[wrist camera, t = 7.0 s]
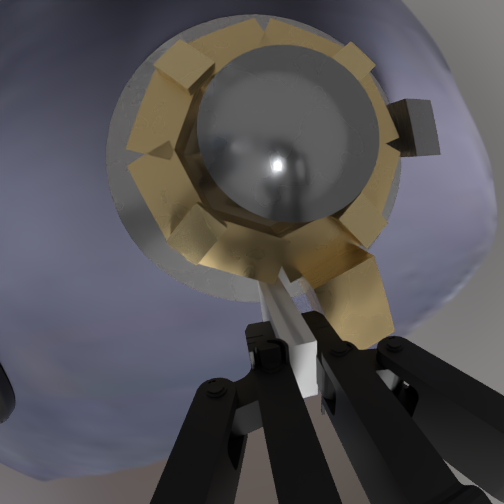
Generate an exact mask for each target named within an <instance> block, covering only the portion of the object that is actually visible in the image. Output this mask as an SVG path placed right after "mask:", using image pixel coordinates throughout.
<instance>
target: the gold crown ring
mask: <svg viewBox="0 0 504 504" xmlns="http://www.w3.org/2000/svg"><path fill="white" fill-rule="evenodd" d="M270 45H295V46H302V47H306V48H310V49H313V50H316V51H318V52H321V53H323V54H325V55H327V56H329V57H331V58H333V59H334V60H336V61H337V62H339V63H340V64H341V65H343V66H344V67H345V68H346V69H347V70H349V71H350V72H351V73H352V74H353V75H354V76H355V78H356V79H357V80H358V81H359V82H360V84H361V85H362V86H363V88H364V89H365V91H366V93H367V94H368V96H369V98H370V100H371V102H372V105H373V107H374V110H375V113H376V117H377V120H378V126H379V152H378V157H377V161H376V165H375V168H374V170H373V173H372V175H371V177H370V179H369V181H368V182H367V184H366V186H365V187H364V188H363V190H362V191H361V192H360V194H359V195H358V196H357V197H356V198H355V199H354V200H353V201H352V202H350V203H349V204H348V205H347V206H345V207H344V208H343V209H341V210H339V211H337V212H336V213H334V214H332V215H329V216H327V217H324V218H321V219H317V220H313V221H308V222H281V221H279V222H277V223H275V224H274V225H272V226H267V225H264V224H260V223H257V222H254V221H251V220H248V219H244V218H241V217H238V216H235V215H231V214H228V213H225V212H222V211H218V210H215V209H212V208H211V206H210V204H209V202H208V200H207V198H206V196H205V195H204V193H203V191H202V189H201V187H200V185H199V183H198V181H197V179H196V178H195V176H194V174H193V172H192V170H191V168H190V166H189V164H188V162H187V160H186V159H185V157H184V152H185V149H186V146H187V143H188V140H189V137H190V134H191V131H192V128H193V126H194V123H195V120H196V117H197V115H198V112H199V106H200V103H201V100H202V98H203V95H204V93H205V91H206V89H207V87H208V85H209V84H210V82H211V81H212V79H213V78H214V77H215V75H216V74H217V73H218V72H219V71H220V70H221V69H222V68H223V67H224V66H225V65H226V64H228V63H229V62H230V61H231V60H233V59H234V58H236V57H238V56H240V55H241V54H243V53H246V52H248V51H250V50H253V49H256V48H260V47H264V46H270ZM153 66H154V67H155V71H154V73H153V76H152V78H151V80H150V83H149V85H148V88H147V90H146V92H145V95H144V98H143V100H142V103H141V105H140V108H139V111H138V113H137V116H136V119H135V122H134V125H133V128H132V131H131V134H130V137H129V140H128V143H127V146H126V149H127V150H131V151H135V152H139V153H143V154H145V155H143V156H142V157H140V158H139V159H137V160H135V161H134V162H132V163H131V164H129V165H128V166H127V167H128V169H129V171H130V173H131V175H132V177H133V179H134V181H135V183H136V185H137V187H138V189H139V191H140V193H141V195H142V196H143V198H144V200H145V202H146V204H147V206H148V208H149V209H150V211H151V213H152V215H153V217H154V219H155V220H156V222H157V224H158V226H159V228H160V229H161V231H162V233H163V235H164V236H165V238H166V240H167V241H166V243H167V244H168V245H170V247H171V249H173V248H174V249H175V250H176V251H177V252H179V253H180V254H181V255H182V256H184V257H185V258H186V259H185V260H187V261H190V262H191V263H193V264H194V265H195V266H197V265H198V264H201V265H205V266H208V267H212V268H215V269H219V270H222V271H226V272H229V273H233V274H236V275H240V276H243V277H247V278H251V279H254V280H258V281H262V282H265V283H269V284H273V285H275V282H276V280H277V277H278V274H279V272H280V269H282V270H283V272H284V273H285V275H286V277H287V278H288V280H289V281H290V283H292V282H294V281H295V280H297V279H299V282H300V284H301V286H302V288H303V290H304V292H305V294H306V296H307V299H308V301H309V303H310V305H311V307H312V309H313V311H317V312H319V313H321V314H323V315H324V316H325V318H326V319H327V321H328V322H329V323H330V324H331V326H332V327H333V328H334V330H335V331H336V333H337V334H338V335H339V337H340V338H341V339H342V341H348V342H351V343H353V344H354V345H355V346H356V347H357V348H358V349H359V350H365V349H367V348H368V347H370V346H372V345H373V344H375V343H377V342H378V341H380V340H382V339H383V338H385V337H386V336H388V335H390V334H391V333H393V332H394V331H395V330H394V325H393V321H392V317H391V313H390V309H389V305H388V302H387V298H386V294H385V291H384V287H383V284H382V280H381V277H380V274H379V270H378V267H377V264H376V261H375V257H374V255H372V254H370V253H368V252H367V251H365V250H363V249H361V248H360V247H358V246H360V245H361V246H363V247H364V248H366V249H367V248H368V247H369V246H370V244H371V243H372V242H373V241H374V239H375V238H376V237H377V236H378V235H379V233H380V232H381V231H382V230H383V228H384V227H385V226H386V225H387V223H388V222H387V221H386V220H385V218H384V217H383V216H382V215H381V214H382V212H383V209H384V206H385V203H386V200H387V196H388V193H389V190H390V187H391V184H392V180H393V177H394V174H395V170H396V167H397V163H398V160H399V156H400V152H399V151H398V150H396V149H394V148H392V147H391V146H389V145H387V144H385V143H388V142H390V141H392V140H395V139H397V138H399V135H398V133H397V130H396V128H395V126H394V123H393V121H392V119H391V116H390V114H389V112H388V110H387V107H386V105H385V103H384V101H383V99H382V97H381V95H380V93H379V91H378V89H377V87H376V85H375V83H374V81H373V79H372V77H371V75H370V73H369V72H370V71H371V70H372V69H373V68H374V67H375V66H376V65H375V64H374V63H373V62H372V61H371V60H370V59H369V58H368V57H367V56H366V55H365V54H364V53H363V52H362V51H361V50H360V49H359V48H358V47H357V46H356V45H355V44H353V43H352V42H351V41H350V42H349V43H348V44H347V45H346V46H345V47H342V46H340V45H338V44H336V43H334V42H332V41H330V40H327V39H325V38H323V37H320V36H318V35H316V34H313V33H311V32H308V31H306V30H303V29H301V28H298V27H295V26H293V25H290V24H287V23H284V22H281V21H278V20H275V19H272V18H270V20H269V23H268V25H267V27H266V29H265V32H264V31H263V30H262V28H261V27H260V25H259V24H258V22H257V21H256V19H255V18H252V19H249V20H246V21H243V22H240V23H237V24H234V25H231V26H228V27H226V28H223V29H220V30H217V31H215V32H212V33H210V34H207V35H205V36H202V37H200V38H198V39H195V40H193V41H191V42H189V43H186V42H184V41H183V40H181V39H179V40H178V41H177V42H176V43H175V44H174V45H173V46H172V47H170V48H169V49H168V50H167V51H166V52H165V53H164V54H163V55H162V56H161V57H160V58H159V59H158V60H157V61H156V62H155V63H154V64H153Z"/></svg>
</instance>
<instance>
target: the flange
mask: <svg viewBox="0 0 504 504" xmlns="http://www.w3.org/2000/svg"><path fill="white" fill-rule="evenodd" d="M252 18H255V19H256V21H257V22H258V24H259V25H260V27H261V28H262V30H263V31H264V32H265V29H266V27H267V25H268V23H269V20H270V18H272V19H275V20H278V21H281V22H284V23H287V24H290V25H293V26H295V27H298V28H301V29H303V30H306V31H308V32H311V33H313V34H316V35H318V36H320V37H323V38H325V39H327V40H330V41H332V42H334V43H336V44H338V45H340V46H342V47H345V46H344V45H343V44H342V43H340V42H339V41H337V40H336V39H334V38H333V37H331V36H330V35H328V34H326V33H324V32H322V31H320V30H318V29H316V28H314V27H312V26H309V25H306V24H304V23H301V22H298V21H295V20H291V19H287V18H282V17H277V16H270V15H257V14H251V15H234V16H228V17H223V18H217V19H214V20H210V21H207V22H204V23H201V24H198V25H196V26H193V27H191V28H189V29H187V30H185V31H183V32H181V33H179V34H177V35H176V36H174V37H173V38H171V39H170V40H168V41H166V42H165V43H163V44H162V45H161V46H160V47H159V48H157V49H156V50H155V51H154V52H153V53H152V54H151V55H149V56H148V57H147V58H146V60H145V61H144V62H143V63H142V64H141V65H140V66H139V67H138V69H137V70H136V71H135V72H134V74H133V75H132V77H131V78H130V80H129V81H128V83H127V84H126V86H125V87H124V89H123V91H122V93H121V95H120V97H119V100H118V102H117V104H116V106H115V109H114V112H113V115H112V119H111V122H110V126H109V131H108V138H107V144H106V168H107V176H108V184H109V188H110V191H111V195H112V199H113V202H114V205H115V207H116V210H117V212H118V214H119V217H120V219H121V221H122V223H123V225H124V226H125V228H126V230H127V231H128V233H129V235H130V236H131V238H132V239H133V241H134V242H135V243H136V244H137V246H138V247H139V248H140V249H141V250H142V252H143V253H144V254H145V255H146V256H147V257H148V258H149V259H150V260H151V261H152V262H153V263H154V264H155V265H157V266H158V267H159V268H160V269H161V270H163V271H164V272H165V273H167V274H168V275H170V276H171V277H173V278H174V279H175V280H177V281H179V282H181V283H183V284H185V285H187V286H188V287H190V288H192V289H195V290H197V291H200V292H203V293H205V294H208V295H211V296H215V297H219V298H223V299H228V300H233V301H244V302H260V295H259V288H258V281H257V280H254V279H251V278H247V277H243V276H240V275H236V274H233V273H229V272H226V271H222V270H219V269H215V268H212V267H208V266H205V265H201V264H198V265H197V266H195V265H194V264H193V263H191V262H190V261H187V260H185V259H186V258H185V257H184V256H182V255H181V254H180V253H179V252H177V251H176V250H175V249H174V248H173V249H171V247H170V245H168V244H167V243H166V241H167V240H166V238H165V236H164V235H163V233H162V231H161V229H160V228H159V226H158V224H157V222H156V220H155V219H154V217H153V215H152V213H151V211H150V209H149V208H148V206H147V204H146V202H145V200H144V198H143V196H142V195H141V193H140V191H139V189H138V187H137V185H136V183H135V181H134V179H133V177H132V175H131V173H130V171H129V169H128V167H127V166H128V165H129V164H131V163H132V162H134V161H135V160H137V159H139V158H140V157H142V156H143V155H145V154H143V153H139V152H135V151H131V150H127V149H126V146H127V143H128V140H129V137H130V134H131V131H132V128H133V125H134V122H135V119H136V116H137V113H138V111H139V108H140V105H141V103H142V100H143V98H144V95H145V92H146V90H147V88H148V85H149V83H150V80H151V78H152V76H153V73H154V71H155V67H154V66H153V64H154V63H155V62H156V61H157V60H158V59H159V58H160V57H161V56H162V55H163V54H164V53H165V52H166V51H167V50H168V49H169V48H170V47H172V46H173V45H174V44H175V43H176V42H177V41H178V40H179V39H181V40H183V41H184V42H186V43H189V42H191V41H193V40H195V39H198V38H200V37H202V36H205V35H207V34H210V33H212V32H215V31H217V30H220V29H223V28H226V27H228V26H231V25H234V24H237V23H240V22H243V21H246V20H249V19H252ZM369 73H370V75H371V77H372V79H373V81H374V83H375V85H376V87H377V89H378V91H379V93H380V95H381V97H382V99H383V101H384V103H385V105H386V107H387V110H388V112H389V114H390V116H391V119H392V121H393V123H394V126H395V128H396V130H397V133H398V135H399V138H397V139H395V140H392V141H390V142H388V143H385V144H387V145H389V146H391V147H392V148H394V149H396V150H398V151H399V152H400V156H399V160H398V163H397V167H396V170H395V174H394V177H393V180H392V184H391V187H390V190H389V193H388V196H387V200H386V203H385V206H384V209H383V212H382V214H381V215H382V216H383V217H384V218H385V220H386V221H387V220H388V218H389V216H390V213H391V211H392V208H393V206H394V203H395V199H396V196H397V192H398V188H399V181H400V174H401V157H413V156H428V155H441V154H440V147H439V141H438V135H437V130H436V125H435V120H434V115H433V110H432V106H431V102H430V100H421V99H403V100H400V101H397V102H394V103H391V104H390V103H389V101H388V99H387V97H386V95H385V93H384V91H383V89H382V87H381V86H380V84H379V83H378V81H377V80H376V78H375V77H374V76H373V74H372V73H371V71H370V72H369ZM378 152H379V126H378V120H377V117H376V113H375V110H374V107H373V105H372V102H371V100H370V98H369V96H368V94H367V93H366V91H365V89H364V88H363V86H362V85H361V84H360V82H359V81H358V80H357V79H356V78H355V76H354V75H353V74H352V73H351V72H350V71H349V70H347V69H346V68H345V67H344V66H343V65H341V64H340V63H339V62H337V61H336V60H334V59H333V58H331V57H329V56H327V55H325V54H323V53H321V52H318V51H316V50H313V49H310V48H306V47H302V46H295V45H270V46H264V47H260V48H256V49H253V50H250V51H248V52H246V53H243V54H241V55H240V56H238V57H236V58H234V59H233V60H231V61H230V62H229V63H228V64H226V65H225V66H224V67H223V68H222V69H221V70H220V71H219V72H218V73H217V74H216V75H215V77H214V78H213V79H212V81H211V82H210V84H209V85H208V87H207V89H206V91H205V93H204V95H203V98H202V100H201V103H200V106H199V112H198V115H197V117H196V120H195V123H194V126H193V128H192V131H191V134H190V137H189V140H188V143H187V146H186V149H185V152H184V157H185V159H186V160H187V162H188V164H189V166H190V168H191V170H192V172H193V174H194V176H195V178H196V179H197V181H198V183H199V185H200V187H201V189H202V191H203V193H204V195H205V196H206V198H207V200H208V202H209V204H210V206H211V208H212V209H215V210H218V211H222V212H225V213H228V214H231V215H235V216H238V217H241V218H244V219H248V220H251V221H254V222H257V223H260V224H264V225H267V226H272V225H274V224H275V223H277V222H279V221H281V222H308V221H313V220H317V219H321V218H324V217H327V216H329V215H332V214H334V213H336V212H337V211H339V210H341V209H343V208H344V207H345V206H347V205H348V204H349V203H350V202H352V201H353V200H354V199H355V198H356V197H357V196H358V195H359V194H360V192H361V191H362V190H363V188H364V187H365V186H366V184H367V182H368V181H369V179H370V177H371V175H372V173H373V170H374V168H375V165H376V161H377V157H378ZM380 233H381V232H380ZM380 233H379V235H380ZM379 235H378V236H379ZM378 236H377V237H376V238H375V239H374V241H373V242H372V243H371V244H370V246H369V247H368V248H367V249H366V248H364V247H363V246H361V245H360V246H358V247H360V248H361V249H363V250H365V251H368V250H369V248H370V247H371V246H372V245H373V243H374V242H375V241H376V239H377V238H378ZM278 277H279V278H280V280H281V282H282V283H283V285H284V287H285V288H286V290H287V292H288V293H289V295H290V297H291V298H292V297H295V296H299V295H302V294H305V292H304V290H303V288H302V286H301V284H300V282H299V279H297V280H295V281H294V282H292V283H290V281H289V280H288V278H287V277H286V275H285V273H284V272H283V270H282V269H280V272H279V274H278Z"/></svg>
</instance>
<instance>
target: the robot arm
mask: <svg viewBox="0 0 504 504" xmlns="http://www.w3.org/2000/svg"><path fill="white" fill-rule="evenodd" d="M257 281H258V280H257ZM258 288H259V295H260V302H261V309H262V316H263V322H260V323H254V324H249V325H248V326H247V328H246V330H245V334H246V340H247V345H248V351H249V356H250V361H251V370H250V372H249V373H248V375H246V376H245V377H244V378H242V379H240V380H238V381H236V382H232V381H230V380H228V379H225V378H213V379H210V380H207V381H205V382H204V383H202V384H201V385H200V386H199V388H198V389H197V391H196V394H195V396H194V399H193V401H192V403H191V406H190V408H189V411H188V413H187V415H186V418H185V420H184V423H183V425H182V428H181V430H180V432H179V435H178V437H177V440H176V442H175V444H174V447H173V449H172V452H171V454H170V456H169V459H168V461H167V464H166V466H165V469H164V471H163V473H162V475H161V478H160V480H159V483H158V485H157V488H156V490H155V492H154V495H153V497H152V499H151V502H150V504H234V501H235V497H236V491H237V487H238V482H239V478H240V473H241V468H242V463H243V458H244V453H245V448H246V443H247V438H248V433H250V432H252V431H254V430H257V429H259V428H261V427H263V428H264V433H265V439H266V444H267V449H268V454H269V459H270V464H271V468H272V474H273V478H274V483H275V488H276V493H277V498H278V502H279V504H342V502H341V499H340V496H339V494H338V491H337V488H336V486H335V483H334V480H333V478H332V475H331V473H330V470H329V467H328V464H327V462H326V459H325V456H324V453H323V451H322V448H321V445H320V443H319V440H318V438H317V435H316V432H315V429H314V427H313V424H312V421H311V418H310V416H309V413H308V410H307V408H306V405H305V402H304V400H303V398H305V397H309V396H313V395H317V394H318V387H319V389H320V391H321V394H322V400H321V405H322V406H321V412H322V415H323V414H325V410H326V412H327V414H328V416H329V418H330V420H331V422H332V424H333V426H334V428H335V431H336V433H337V435H338V437H339V439H340V441H341V443H342V445H343V447H344V449H345V451H346V454H347V456H348V458H349V460H350V462H351V464H352V466H353V468H354V470H355V472H356V474H357V476H358V478H359V481H360V483H361V485H362V487H363V489H364V491H365V493H366V495H367V497H368V499H369V501H370V503H371V504H492V503H491V501H490V500H489V498H488V497H487V496H486V494H485V493H484V492H483V491H482V490H481V489H480V488H479V487H481V488H482V489H483V490H485V491H486V492H487V493H489V494H490V495H491V496H493V497H495V498H496V499H498V500H499V501H501V502H504V396H503V395H502V394H500V393H498V392H496V391H495V390H493V389H491V388H489V387H488V386H486V385H484V384H483V383H481V382H479V381H478V380H476V379H474V378H472V377H470V376H469V375H467V374H465V373H464V372H462V371H460V370H459V369H457V368H455V367H453V366H452V365H450V364H448V363H446V362H445V361H443V360H441V359H440V358H438V357H436V356H434V355H433V354H431V353H429V352H427V351H426V350H424V349H422V348H421V347H419V346H417V345H416V344H414V343H412V342H410V341H409V340H407V339H405V338H402V337H399V336H389V337H386V338H383V339H382V340H380V341H379V343H378V345H377V349H367V350H359V349H358V348H357V347H356V346H355V345H354V344H353V343H351V342H348V341H342V339H341V338H340V337H339V335H338V334H337V333H336V331H335V330H334V328H333V327H332V326H331V324H330V323H329V322H328V321H327V319H326V318H325V316H324V315H323V314H321V313H319V312H317V311H310V312H306V313H301V314H300V312H299V310H298V308H297V307H296V305H295V303H294V302H293V300H292V298H291V297H290V295H289V293H288V292H287V290H286V288H285V287H284V285H283V283H282V282H281V280H280V278H279V277H277V280H276V282H275V285H273V284H269V283H265V282H262V281H258ZM404 381H405V382H406V383H408V384H409V386H407V385H405V384H404ZM14 408H15V398H14V394H13V391H12V388H11V386H10V384H9V381H8V379H7V377H6V376H5V374H4V372H3V370H2V368H1V367H0V423H2V422H5V421H6V420H7V419H8V418H9V416H10V415H11V413H12V412H13V410H14ZM443 459H444V460H445V461H446V462H448V463H449V464H450V465H451V466H453V467H454V468H455V469H457V470H458V471H459V472H460V473H462V474H463V475H464V476H466V477H467V478H468V479H470V480H471V481H472V482H474V483H475V484H476V485H478V486H479V487H477V486H474V485H463V484H461V483H460V482H459V481H458V479H457V478H456V477H455V475H454V474H453V473H452V471H451V470H450V469H449V467H448V466H447V464H446V463H445V462H444V460H443Z"/></svg>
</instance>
